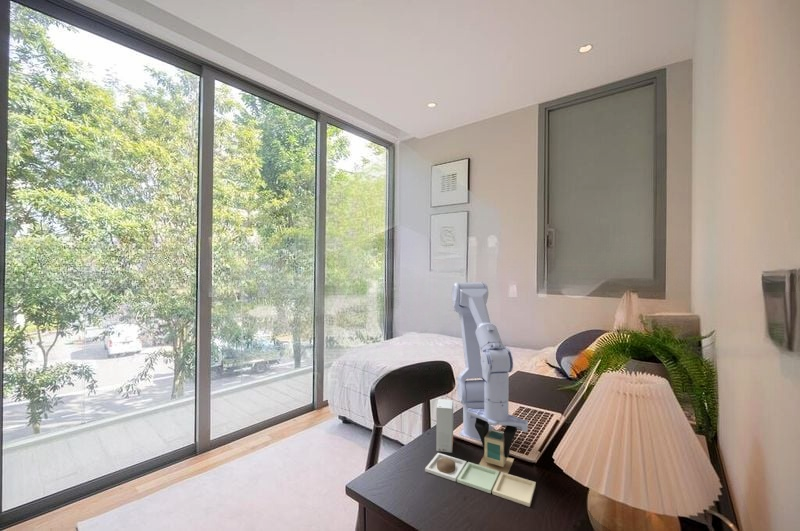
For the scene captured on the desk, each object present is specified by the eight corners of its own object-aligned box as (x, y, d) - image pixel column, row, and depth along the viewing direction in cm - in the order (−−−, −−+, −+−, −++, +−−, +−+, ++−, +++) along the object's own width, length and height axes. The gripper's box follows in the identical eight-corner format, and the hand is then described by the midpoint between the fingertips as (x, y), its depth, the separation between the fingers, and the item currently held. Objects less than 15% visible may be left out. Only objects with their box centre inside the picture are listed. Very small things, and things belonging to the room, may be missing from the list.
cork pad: (486, 453, 90) (486, 451, 90) (513, 461, 87) (513, 458, 87) (478, 467, 84) (478, 465, 84) (507, 476, 81) (507, 474, 81)
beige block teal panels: (489, 452, 88) (489, 428, 88) (507, 457, 86) (507, 433, 86) (484, 461, 84) (484, 437, 84) (503, 467, 82) (503, 441, 82)
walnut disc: (441, 460, 86) (441, 456, 86) (458, 465, 84) (458, 461, 84) (434, 469, 83) (434, 465, 83) (451, 475, 80) (451, 471, 80)
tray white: (438, 457, 89) (438, 452, 89) (466, 466, 85) (466, 461, 85) (425, 473, 82) (425, 468, 82) (455, 483, 78) (455, 478, 78)
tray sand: (501, 476, 81) (501, 471, 81) (535, 487, 77) (535, 482, 77) (492, 496, 74) (492, 490, 74) (529, 509, 70) (529, 503, 70)
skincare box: (452, 454, 90) (452, 408, 90) (436, 452, 91) (435, 407, 90) (453, 442, 96) (453, 399, 95) (438, 440, 97) (438, 398, 96)
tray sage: (468, 466, 85) (468, 461, 85) (499, 476, 81) (499, 471, 81) (456, 484, 78) (457, 479, 78) (490, 495, 74) (490, 490, 74)
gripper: (462, 397, 85) (462, 452, 85) (524, 410, 78) (523, 470, 78) (471, 388, 91) (471, 439, 92) (529, 399, 84) (529, 454, 84)
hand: (496, 452), depth 85 cm, fingers closed on beige block teal panels, 4 cm apart
